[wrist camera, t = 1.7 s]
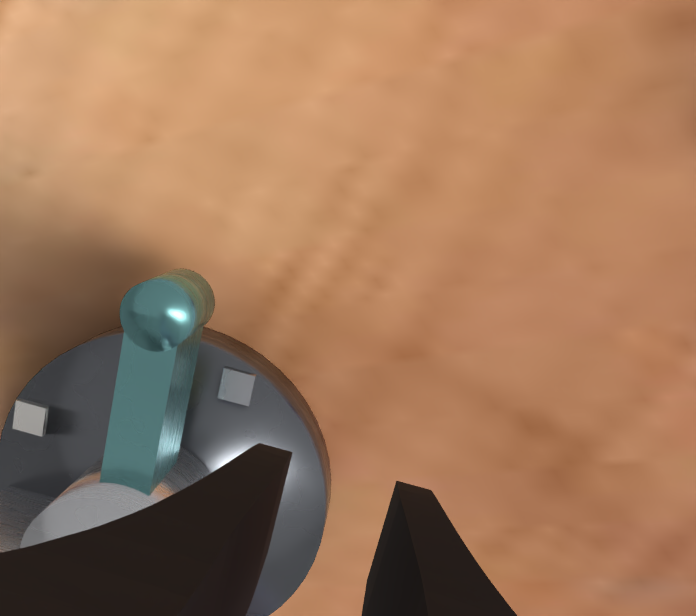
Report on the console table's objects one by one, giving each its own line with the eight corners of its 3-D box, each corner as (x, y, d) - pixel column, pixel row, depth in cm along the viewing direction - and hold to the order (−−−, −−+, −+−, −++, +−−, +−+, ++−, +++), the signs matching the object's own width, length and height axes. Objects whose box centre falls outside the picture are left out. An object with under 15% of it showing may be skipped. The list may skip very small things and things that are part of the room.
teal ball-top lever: (207, 577, 20) (164, 664, 16) (79, 541, 20) (10, 619, 17) (271, 284, 18) (237, 313, 14) (126, 246, 18) (57, 264, 14)
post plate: (292, 645, 22) (263, 761, 18) (9, 564, 23) (-86, 657, 18) (365, 371, 20) (353, 427, 15) (45, 284, 20) (-56, 316, 16)
